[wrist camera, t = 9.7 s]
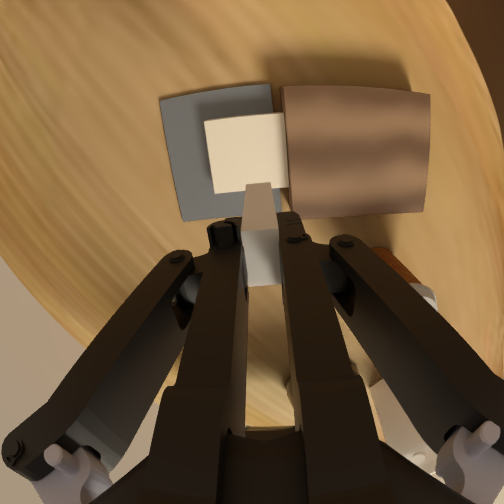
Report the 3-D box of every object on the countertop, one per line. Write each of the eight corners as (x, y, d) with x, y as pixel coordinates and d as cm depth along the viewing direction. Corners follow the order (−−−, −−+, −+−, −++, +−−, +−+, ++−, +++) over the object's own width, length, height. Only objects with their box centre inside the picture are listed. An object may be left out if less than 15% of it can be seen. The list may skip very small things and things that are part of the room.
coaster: (287, 181, 31) (288, 187, 30) (217, 187, 32) (214, 193, 30) (282, 112, 27) (283, 113, 26) (207, 119, 28) (203, 121, 26)
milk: (395, 395, 59) (418, 481, 36) (369, 388, 56) (391, 488, 33) (431, 368, 53) (464, 458, 31) (408, 358, 50) (445, 464, 28)
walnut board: (408, 199, 32) (423, 212, 29) (289, 206, 33) (293, 220, 30) (412, 92, 25) (430, 94, 22) (279, 87, 26) (283, 86, 23)
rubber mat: (281, 210, 34) (281, 212, 33) (183, 220, 34) (183, 221, 34) (269, 83, 26) (270, 83, 26) (160, 100, 27) (159, 100, 26)
